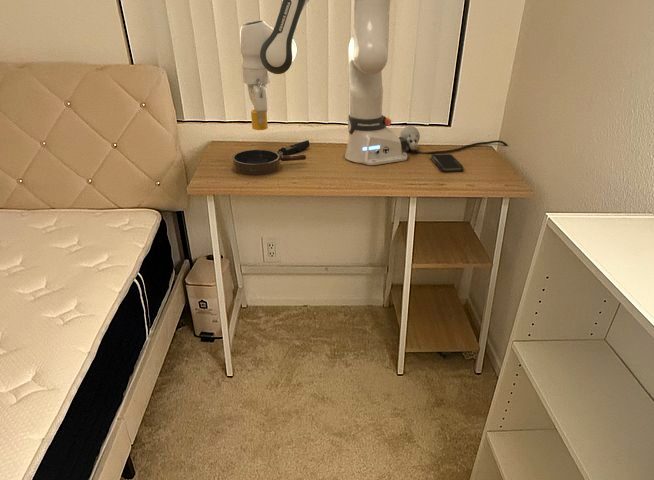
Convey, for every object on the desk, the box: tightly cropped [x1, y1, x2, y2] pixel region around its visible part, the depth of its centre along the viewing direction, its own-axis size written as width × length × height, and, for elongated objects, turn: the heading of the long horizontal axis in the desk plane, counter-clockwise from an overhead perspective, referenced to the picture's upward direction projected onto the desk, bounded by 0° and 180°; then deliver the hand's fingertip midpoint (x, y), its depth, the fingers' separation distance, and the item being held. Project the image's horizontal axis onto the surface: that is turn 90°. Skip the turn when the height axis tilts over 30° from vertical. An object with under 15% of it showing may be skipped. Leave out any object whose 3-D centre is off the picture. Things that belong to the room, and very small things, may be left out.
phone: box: [430, 153, 464, 173], centre depth 194 cm, size 8×1×15 cm
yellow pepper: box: [250, 109, 269, 131], centre depth 194 cm, size 5×5×6 cm
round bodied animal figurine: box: [399, 125, 421, 153], centre depth 203 cm, size 7×12×8 cm, turn 5°
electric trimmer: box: [276, 139, 310, 157], centre depth 202 cm, size 4×16×3 cm, turn 143°
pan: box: [231, 149, 281, 177], centre depth 187 cm, size 16×16×4 cm
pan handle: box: [280, 153, 307, 162], centre depth 189 cm, size 9×2×2 cm, turn 105°
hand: (259, 120), depth 195 cm, fingers closed on yellow pepper, 5 cm apart
